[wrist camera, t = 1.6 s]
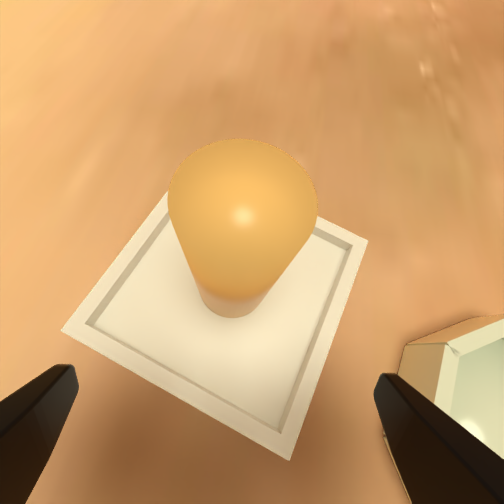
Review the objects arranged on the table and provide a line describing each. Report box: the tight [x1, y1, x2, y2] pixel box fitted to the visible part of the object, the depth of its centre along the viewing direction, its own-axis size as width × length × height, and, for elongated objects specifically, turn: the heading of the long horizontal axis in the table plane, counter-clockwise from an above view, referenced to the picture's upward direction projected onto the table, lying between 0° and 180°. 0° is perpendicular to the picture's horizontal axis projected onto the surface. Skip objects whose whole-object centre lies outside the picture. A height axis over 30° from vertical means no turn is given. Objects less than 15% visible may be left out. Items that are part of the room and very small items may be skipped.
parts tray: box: [60, 191, 368, 461], centre depth 20 cm, size 16×16×2 cm
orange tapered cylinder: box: [167, 139, 318, 318], centre depth 14 cm, size 5×5×12 cm
